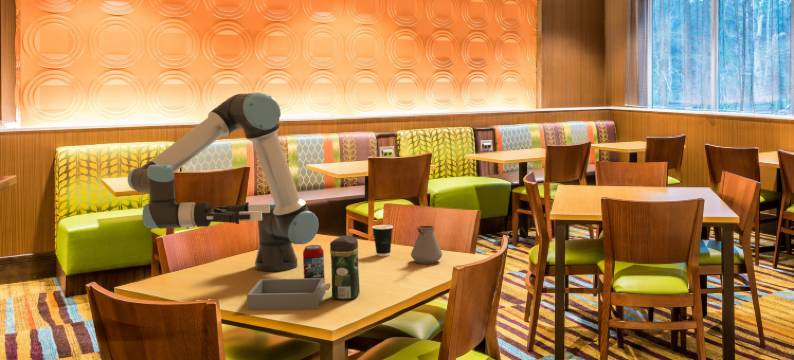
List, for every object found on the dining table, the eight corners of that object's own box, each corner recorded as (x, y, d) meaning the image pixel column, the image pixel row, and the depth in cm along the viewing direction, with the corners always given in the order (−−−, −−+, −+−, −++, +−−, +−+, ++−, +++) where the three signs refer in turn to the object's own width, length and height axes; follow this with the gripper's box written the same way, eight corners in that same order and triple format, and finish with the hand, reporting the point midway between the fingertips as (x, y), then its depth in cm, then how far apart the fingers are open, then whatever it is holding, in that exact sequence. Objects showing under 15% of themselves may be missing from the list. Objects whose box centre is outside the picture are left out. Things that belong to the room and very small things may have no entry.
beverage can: (308, 286, 243) (307, 249, 242) (301, 281, 249) (299, 246, 248) (327, 283, 247) (326, 247, 245) (320, 278, 252) (318, 243, 251)
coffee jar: (337, 292, 235) (335, 233, 233) (362, 293, 233) (360, 234, 231) (328, 300, 225) (326, 239, 223) (354, 301, 224) (352, 240, 222)
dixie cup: (386, 257, 283) (385, 229, 281) (369, 256, 287) (368, 227, 286) (397, 253, 289) (396, 225, 288) (380, 252, 294) (379, 224, 292)
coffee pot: (414, 258, 281) (413, 218, 280) (444, 258, 279) (443, 218, 277) (402, 271, 261) (401, 228, 259) (435, 272, 258) (434, 229, 256)
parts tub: (260, 293, 236) (260, 279, 235) (333, 292, 235) (332, 278, 235) (247, 310, 217) (246, 294, 217) (326, 308, 217) (325, 293, 216)
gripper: (207, 219, 241) (273, 216, 241) (185, 234, 217) (259, 231, 217) (205, 196, 241) (271, 193, 240) (183, 209, 216) (257, 206, 216)
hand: (265, 211), depth 229 cm, fingers open, 13 cm apart
